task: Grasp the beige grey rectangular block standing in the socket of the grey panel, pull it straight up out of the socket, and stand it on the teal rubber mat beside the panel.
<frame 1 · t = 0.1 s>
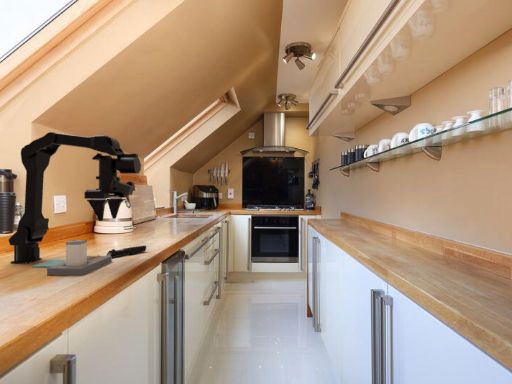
hand: (107, 219, 107), 15 cm above the worktop, fingers open, 9 cm apart
electric trimmer: (126, 256, 120), on the worktop
grey panel: (82, 267, 99), on the worktop
beige grey rectangular block: (76, 270, 96), resting in grey panel
teal mat: (58, 263, 104), on the worktop
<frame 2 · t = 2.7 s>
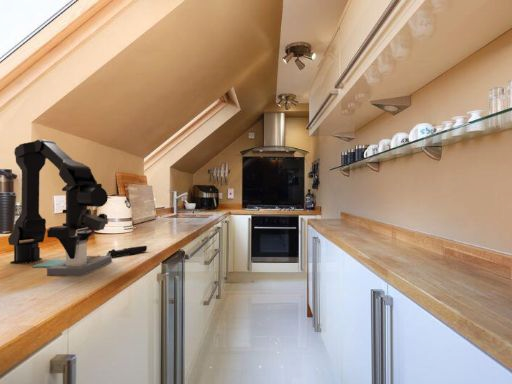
hand: (76, 257, 96), 4 cm above the worktop, fingers closed on beige grey rectangular block, 4 cm apart
beige grey rectangular block: (76, 270, 96), resting in grey panel, touching gripper
everything else where it was.
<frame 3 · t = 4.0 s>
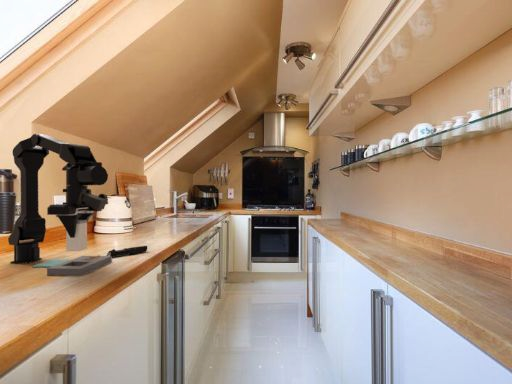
hand: (76, 236, 96), 10 cm above the worktop, fingers closed on beige grey rectangular block, 4 cm apart
beige grey rectangular block: (76, 249, 96), point 6 cm above the worktop, touching gripper
everything else where it was.
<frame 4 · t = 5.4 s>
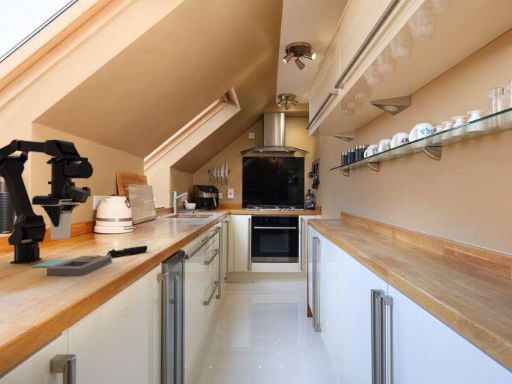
hand: (60, 226, 103), 13 cm above the worktop, fingers closed on beige grey rectangular block, 4 cm apart
beige grey rectangular block: (60, 238, 103), point 9 cm above the worktop, touching gripper
everything else where it was.
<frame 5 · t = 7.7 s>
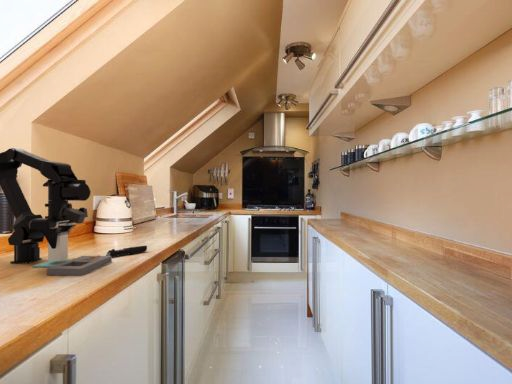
hand: (58, 247, 104), 5 cm above the worktop, fingers closed on beige grey rectangular block, 4 cm apart
beige grey rectangular block: (58, 259, 104), point 1 cm above the worktop, touching gripper
everything else where it was.
when the fingers open (5 cm above the worktop, at t = 7.8 s): beige grey rectangular block stays where it is, resting on teal mat.
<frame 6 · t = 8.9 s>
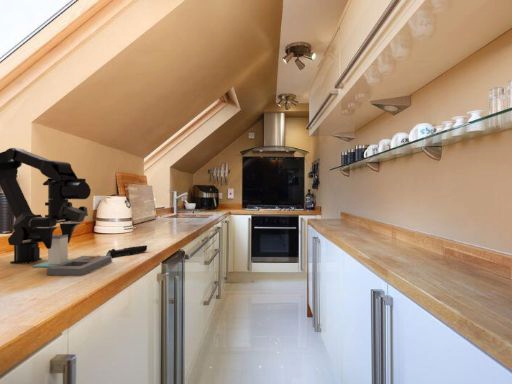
hand: (58, 246, 104), 6 cm above the worktop, fingers open, 9 cm apart
beige grey rectangular block: (58, 262, 104), resting on teal mat
everything else where it was.
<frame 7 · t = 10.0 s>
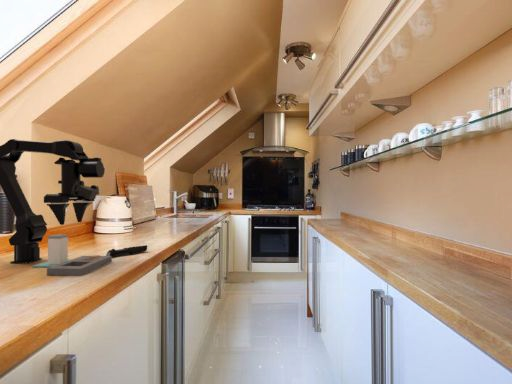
hand: (71, 223, 108), 13 cm above the worktop, fingers open, 9 cm apart
nothing on the worktop moved.
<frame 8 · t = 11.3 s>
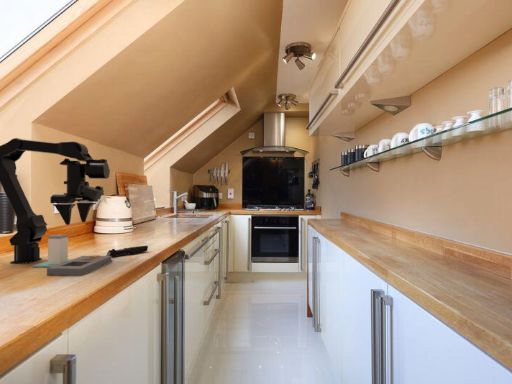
hand: (76, 223, 109), 13 cm above the worktop, fingers open, 9 cm apart
nothing on the worktop moved.
at the end: beige grey rectangular block inside the target area (0.0 cm from its centre), point 0.5 cm above the worktop; beige grey rectangular block tilted 0°; the gripper is holding nothing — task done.
